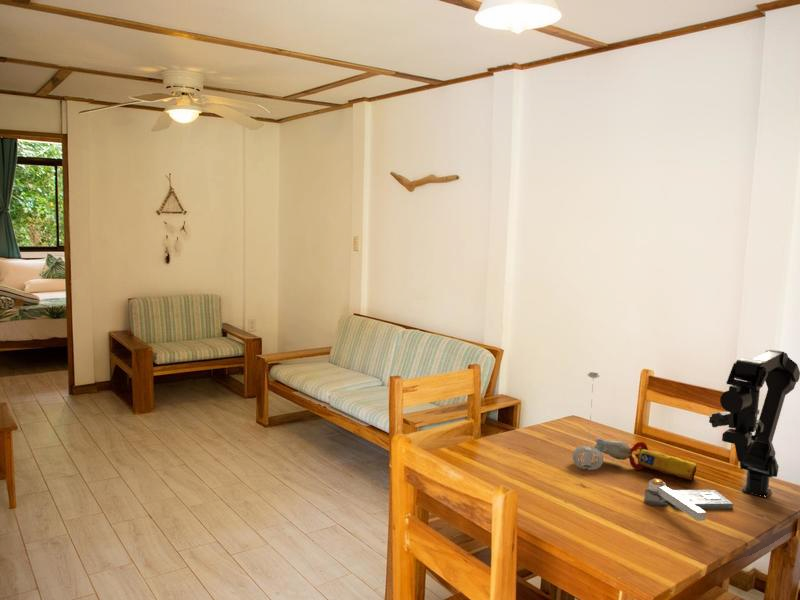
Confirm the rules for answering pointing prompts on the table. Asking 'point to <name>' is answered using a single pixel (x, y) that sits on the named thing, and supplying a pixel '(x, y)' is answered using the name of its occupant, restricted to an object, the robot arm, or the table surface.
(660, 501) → the pivot base
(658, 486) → the swing arm
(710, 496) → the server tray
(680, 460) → the toy
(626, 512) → the table surface
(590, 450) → the pendant light
